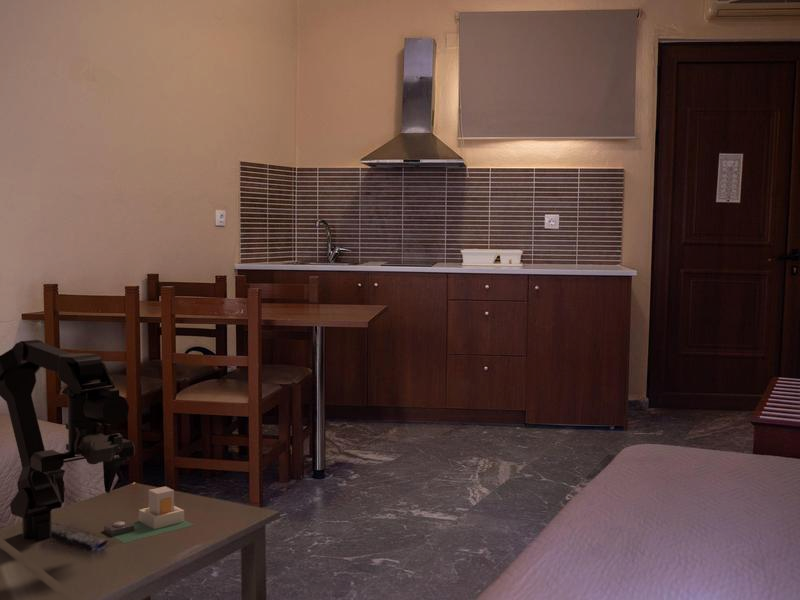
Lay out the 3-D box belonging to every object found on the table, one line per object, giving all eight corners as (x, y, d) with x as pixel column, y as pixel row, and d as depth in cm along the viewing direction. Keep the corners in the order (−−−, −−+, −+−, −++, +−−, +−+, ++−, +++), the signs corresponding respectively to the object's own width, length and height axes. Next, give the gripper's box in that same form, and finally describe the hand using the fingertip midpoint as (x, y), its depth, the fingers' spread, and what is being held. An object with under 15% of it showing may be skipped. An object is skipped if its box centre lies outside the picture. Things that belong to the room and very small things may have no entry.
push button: (104, 530, 171) (103, 523, 171) (124, 525, 174) (124, 518, 174) (113, 536, 167) (113, 528, 167) (134, 530, 171) (134, 523, 171)
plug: (148, 521, 177) (148, 489, 177) (165, 517, 180) (165, 486, 179) (158, 526, 174) (157, 494, 173) (175, 521, 177) (174, 490, 176)
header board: (101, 534, 171) (101, 518, 171) (170, 517, 182) (170, 502, 182) (123, 547, 164) (123, 530, 163) (194, 529, 175) (193, 513, 175)
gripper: (53, 433, 145) (55, 518, 146) (148, 418, 158) (149, 496, 159) (28, 423, 152) (30, 504, 153) (121, 410, 166) (122, 484, 167)
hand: (85, 497), depth 158 cm, fingers open, 9 cm apart
